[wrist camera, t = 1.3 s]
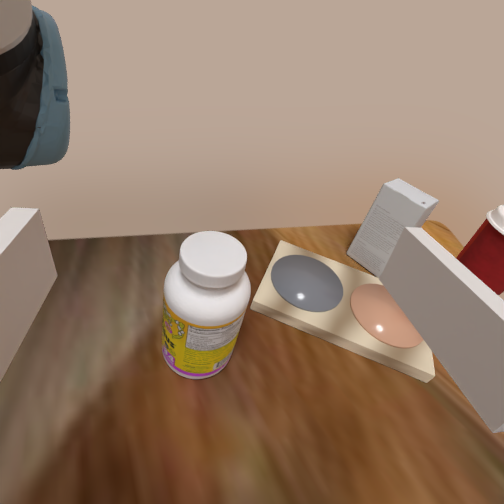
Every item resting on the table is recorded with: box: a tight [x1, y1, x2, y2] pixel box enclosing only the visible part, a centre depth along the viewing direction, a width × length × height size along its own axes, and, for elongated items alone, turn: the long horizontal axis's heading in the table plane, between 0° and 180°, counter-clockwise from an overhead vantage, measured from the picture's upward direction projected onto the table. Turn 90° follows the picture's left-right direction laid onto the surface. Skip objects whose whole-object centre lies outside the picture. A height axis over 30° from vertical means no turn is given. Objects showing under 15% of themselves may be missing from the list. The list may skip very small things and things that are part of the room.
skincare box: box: [346, 178, 439, 278], centre depth 42 cm, size 6×4×12 cm
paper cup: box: [456, 205, 504, 295], centre depth 39 cm, size 8×8×14 cm
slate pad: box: [271, 255, 343, 312], centre depth 38 cm, size 9×9×1 cm
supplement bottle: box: [162, 231, 251, 379], centre depth 26 cm, size 7×7×13 cm
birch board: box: [250, 240, 435, 383], centre depth 38 cm, size 20×12×2 cm, turn 71°
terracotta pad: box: [350, 284, 424, 348], centre depth 36 cm, size 9×9×1 cm
